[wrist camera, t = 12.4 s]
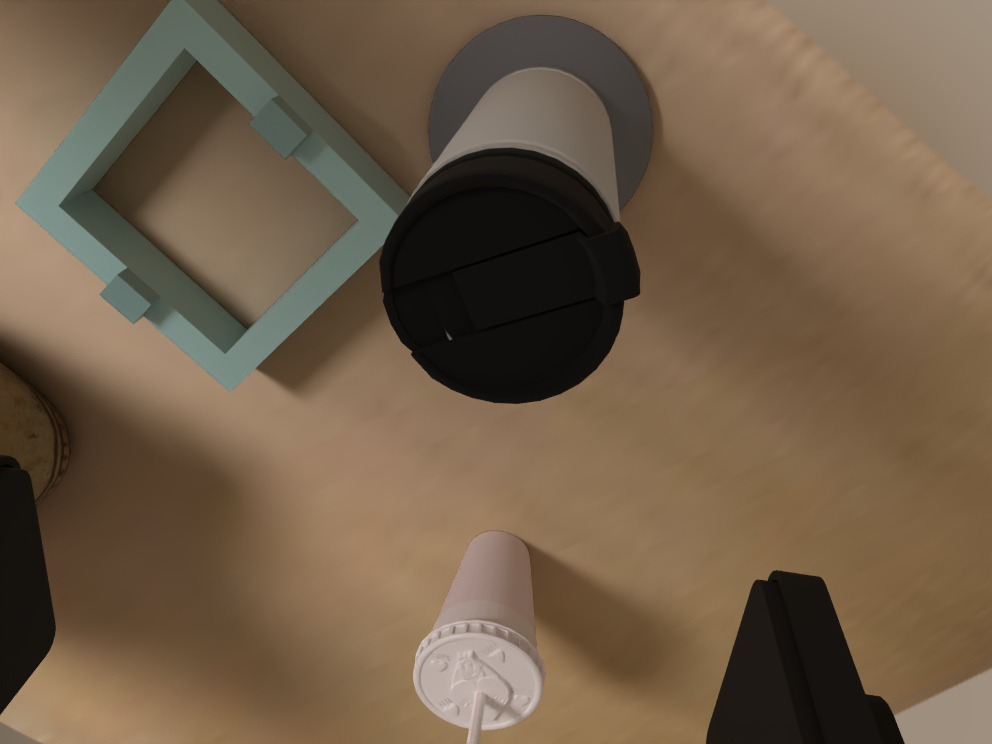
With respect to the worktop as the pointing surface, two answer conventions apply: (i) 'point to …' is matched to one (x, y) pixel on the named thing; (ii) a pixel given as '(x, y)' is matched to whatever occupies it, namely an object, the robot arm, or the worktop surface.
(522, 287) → the travel mug
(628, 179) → the pad
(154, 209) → the worktop surface
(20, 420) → the ceramic vessel
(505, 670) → the smoothie
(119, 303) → the dock collar
